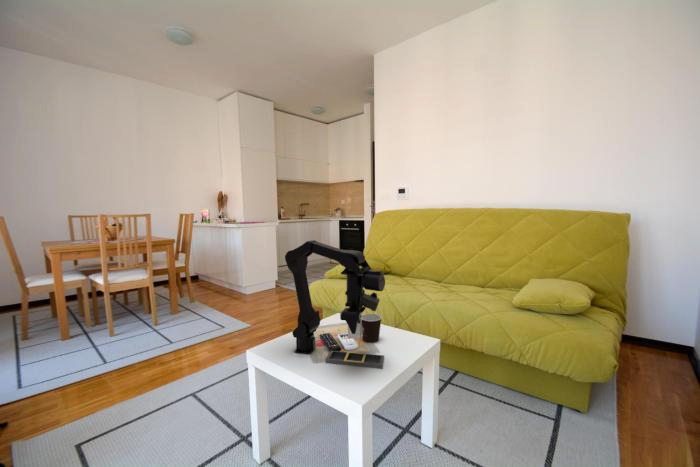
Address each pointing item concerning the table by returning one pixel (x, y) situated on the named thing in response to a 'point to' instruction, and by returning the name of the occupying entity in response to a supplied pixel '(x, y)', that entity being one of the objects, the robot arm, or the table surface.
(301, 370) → the table surface
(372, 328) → the coffee mug
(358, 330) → the block
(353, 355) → the rail
